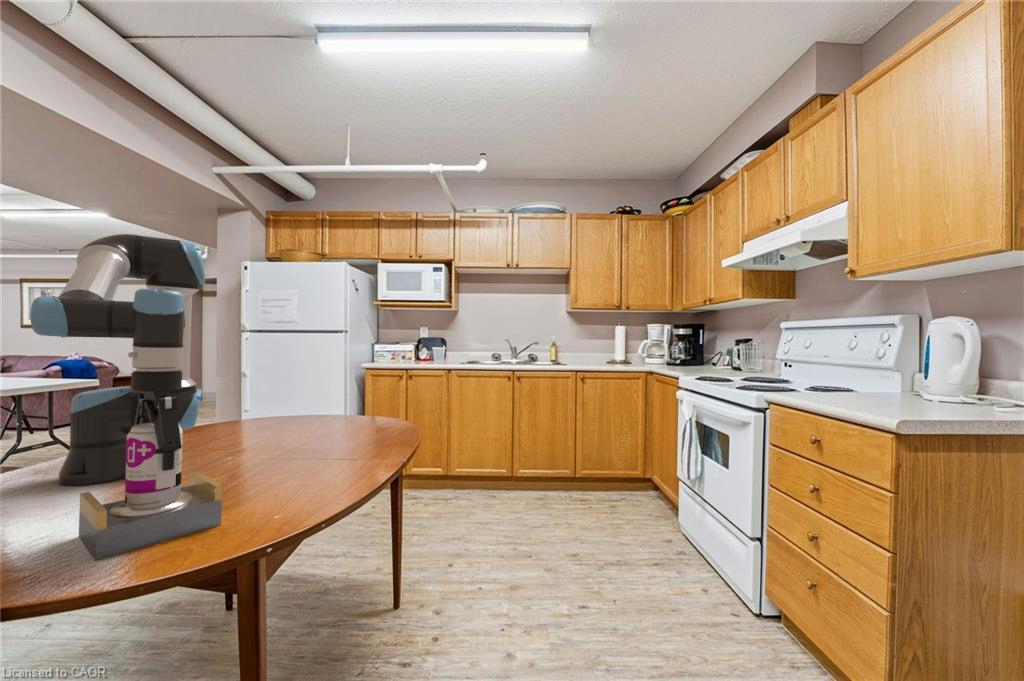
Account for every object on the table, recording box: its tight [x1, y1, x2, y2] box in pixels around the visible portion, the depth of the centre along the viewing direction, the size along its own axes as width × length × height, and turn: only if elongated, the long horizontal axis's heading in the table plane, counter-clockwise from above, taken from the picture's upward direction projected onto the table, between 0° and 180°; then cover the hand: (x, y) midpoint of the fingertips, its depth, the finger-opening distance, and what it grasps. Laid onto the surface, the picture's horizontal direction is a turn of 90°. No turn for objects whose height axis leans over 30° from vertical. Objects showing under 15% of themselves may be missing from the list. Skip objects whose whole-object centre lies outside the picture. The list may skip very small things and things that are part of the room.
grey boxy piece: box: [78, 470, 223, 562], centre depth 80 cm, size 14×18×8 cm
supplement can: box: [124, 422, 184, 510], centre depth 80 cm, size 8×8×15 cm
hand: (154, 479), depth 80 cm, fingers open, 13 cm apart
